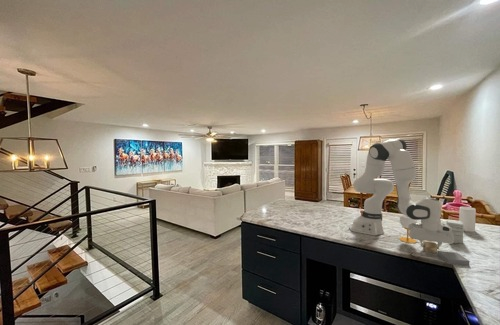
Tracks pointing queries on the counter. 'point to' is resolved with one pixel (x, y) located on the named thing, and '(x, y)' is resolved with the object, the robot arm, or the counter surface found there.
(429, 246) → the maple cube
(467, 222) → the cup
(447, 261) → the plate
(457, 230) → the supplement box
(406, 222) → the cup
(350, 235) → the counter surface
